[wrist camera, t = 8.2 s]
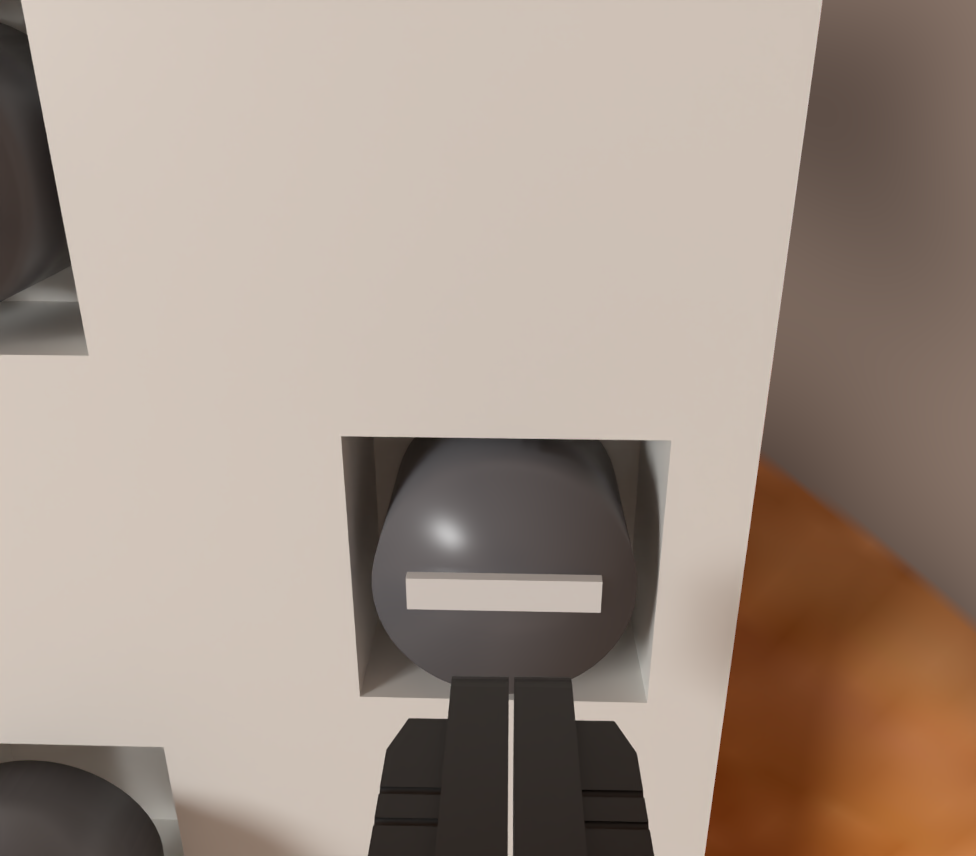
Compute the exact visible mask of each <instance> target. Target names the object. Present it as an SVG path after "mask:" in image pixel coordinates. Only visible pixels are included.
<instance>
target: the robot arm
mask: <svg viewBox="0 0 976 856" xmlns="http://www.w3.org/2000/svg"><path fill="white" fill-rule="evenodd" d="M508 735H509V677H503V676H452V680H451V689H450V699H449V710H448V719H431V718H408V720H407V721H406V723H405V724H404V725H403V727H402V728H401V730H400V731H399V732H398V734H397V735H396V737H395V738H394V739H393V741H392V742H391V744H390V745H389V746H388V748H387V749H386V754H385V760H384V765H383V771H382V777H381V783H380V793H379V794H378V800H377V805H376V811H375V817H374V825H373V828H372V834H371V840H370V846H369V851H368V856H508ZM648 823H649V822H648V816H647V810H646V804H645V798H644V797H643V786H642V780H641V774H640V768H639V762H638V756H637V753H636V751H635V750H634V748H633V747H632V745H631V744H630V743H629V741H628V740H627V738H626V737H625V735H624V734H623V732H622V731H621V730H620V728H619V727H618V725H617V724H616V722H615V721H584V720H575V710H574V699H573V688H572V680H571V677H523V676H514V729H513V856H654V851H653V845H652V839H651V833H650V830H649V825H648Z"/></svg>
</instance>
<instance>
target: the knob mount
mask: <svg viewBox="0 0 976 856" xmlns="http://www.w3.org/2000/svg"><path fill="white" fill-rule="evenodd" d="M822 1H823V0H0V23H3V24H5V25H8V26H11V27H13V28H15V29H17V30H19V31H21V32H23V33H25V34H27V35H28V40H29V45H30V50H31V56H32V61H33V66H34V71H35V77H36V82H37V87H38V92H39V98H40V103H41V108H42V113H43V119H44V124H45V129H46V134H47V139H48V145H49V150H50V155H51V160H52V166H53V171H54V176H55V181H56V187H57V192H58V197H59V202H60V208H61V213H62V218H63V223H64V228H65V234H66V239H67V244H68V249H69V255H70V260H71V266H69V267H67V268H65V269H64V270H62V271H60V272H58V273H56V274H54V275H52V276H50V277H48V278H46V279H44V280H42V281H40V282H38V283H36V284H35V285H33V286H31V287H29V288H27V289H25V290H23V291H21V292H19V293H17V294H15V295H13V296H11V297H9V298H7V299H5V300H3V301H1V302H0V763H4V762H11V761H19V760H37V761H49V762H55V763H61V764H65V765H69V766H72V767H76V768H79V769H82V770H85V771H87V772H90V773H93V774H95V775H97V776H99V777H101V778H103V779H105V780H107V781H108V782H110V783H112V784H113V785H115V786H117V787H118V788H120V789H121V790H122V791H124V792H125V793H126V794H128V795H129V796H130V797H131V798H132V799H134V800H135V801H136V802H137V803H138V804H139V805H140V806H141V807H142V808H143V810H144V811H145V812H146V813H147V814H148V816H149V817H150V819H151V820H152V822H153V823H154V825H155V827H156V829H157V831H158V833H159V835H160V838H161V842H162V845H163V852H164V856H368V851H369V846H370V840H371V834H372V828H373V825H374V817H375V811H376V805H377V800H378V794H379V793H380V783H381V777H382V771H383V765H384V760H385V754H386V749H387V748H388V746H389V745H390V744H391V742H392V741H393V739H394V738H395V737H396V735H397V734H398V732H399V731H400V730H401V728H402V727H403V725H404V724H405V723H406V721H407V720H408V718H431V719H448V710H449V699H450V689H451V684H450V683H448V682H445V681H443V680H440V679H439V678H437V677H435V676H433V675H431V674H429V673H428V672H426V671H424V670H423V669H422V668H420V667H419V666H417V665H416V664H415V663H413V662H412V661H411V660H410V659H409V658H408V657H407V656H406V655H404V654H403V653H402V652H401V651H400V649H399V648H398V647H397V646H396V645H395V643H394V642H393V641H392V640H391V638H390V637H389V635H388V633H387V632H386V630H385V629H384V627H383V625H382V623H381V620H380V618H379V616H378V613H377V610H376V607H375V603H374V599H373V592H372V569H373V563H374V557H375V554H376V550H377V546H378V543H379V539H380V535H381V532H382V528H383V524H384V521H385V517H386V514H387V510H388V506H389V503H390V499H391V495H392V492H393V488H394V484H395V481H396V477H397V473H398V470H399V467H400V464H401V461H402V458H403V456H404V454H405V452H406V450H407V448H408V446H409V444H410V443H411V442H412V440H413V439H414V437H440V438H517V439H593V440H600V442H601V443H602V445H603V446H604V448H605V449H606V451H607V454H608V456H609V458H610V460H611V463H612V466H613V469H614V472H615V476H616V481H617V485H618V489H619V494H620V498H621V503H622V507H623V512H624V516H625V521H626V525H627V530H628V534H629V538H630V543H631V547H632V552H633V556H634V561H635V567H636V573H637V594H636V600H635V606H634V609H633V612H632V615H631V618H630V621H629V623H628V625H627V627H626V629H625V631H624V633H623V634H622V636H621V637H620V639H619V640H618V642H617V643H616V645H615V646H614V647H613V648H612V649H611V650H610V651H609V652H608V654H607V655H606V656H605V657H604V658H602V659H601V660H600V661H599V662H598V663H597V664H595V665H594V666H593V667H591V668H590V669H588V670H587V671H585V672H584V673H582V674H581V675H579V676H577V677H575V678H573V679H571V680H572V688H573V699H574V710H575V720H584V721H615V722H616V724H617V725H618V727H619V728H620V730H621V731H622V732H623V734H624V735H625V737H626V738H627V740H628V741H629V743H630V744H631V745H632V747H633V748H634V750H635V751H636V753H637V756H638V762H639V768H640V774H641V780H642V786H643V797H644V798H645V804H646V810H647V816H648V822H649V823H648V825H649V830H650V833H651V839H652V845H653V851H654V856H705V848H706V841H707V834H708V827H709V819H710V812H711V805H712V798H713V790H714V783H715V776H716V769H717V761H718V754H719V747H720V740H721V733H722V725H723V718H724V711H725V704H726V696H727V689H728V682H729V675H730V667H731V660H732V653H733V646H734V638H735V631H736V624H737V617H738V609H739V602H740V595H741V588H742V580H743V573H744V566H745V559H746V551H747V544H748V537H749V530H750V523H751V515H752V508H753V501H754V494H755V486H756V479H757V472H758V465H759V457H760V450H761V443H762V436H763V428H764V420H765V414H766V407H767V399H768V392H769V385H770V377H771V370H772V363H773V356H774V349H775V341H776V334H777V327H778V319H779V312H780V305H781V298H782V291H783V283H784V276H785V269H786V261H787V255H788V247H789V240H790V233H791V226H792V218H793V211H794V204H795V197H796V189H797V182H798V175H799V168H800V160H801V153H802V145H803V139H804V131H805V124H806V117H807V110H808V102H809V95H810V88H811V81H812V74H813V66H814V59H815V52H816V44H817V37H818V30H819V23H820V16H821V8H822ZM513 729H514V694H509V735H508V856H513Z"/></svg>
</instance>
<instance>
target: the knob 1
mask: <svg viewBox="0 0 976 856" xmlns="http://www.w3.org/2000/svg"><path fill="white" fill-rule="evenodd" d="M69 266H71V260H70V255H69V249H68V244H67V239H66V234H65V228H64V223H63V218H62V213H61V208H60V202H59V197H58V192H57V187H56V181H55V176H54V171H53V166H52V160H51V155H50V150H49V145H48V139H47V134H46V129H45V124H44V119H43V113H42V108H41V103H40V98H39V92H38V87H37V82H36V77H35V71H34V66H33V61H32V56H31V50H30V45H29V40H28V35H27V34H25V33H23V32H21V31H19V30H17V29H15V28H13V27H11V26H8V25H5V24H3V23H0V302H1V301H3V300H5V299H7V298H9V297H11V296H13V295H15V294H17V293H19V292H21V291H23V290H25V289H27V288H29V287H31V286H33V285H35V284H36V283H38V282H40V281H42V280H44V279H46V278H48V277H50V276H52V275H54V274H56V273H58V272H60V271H62V270H64V269H65V268H67V267H69Z"/></svg>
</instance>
